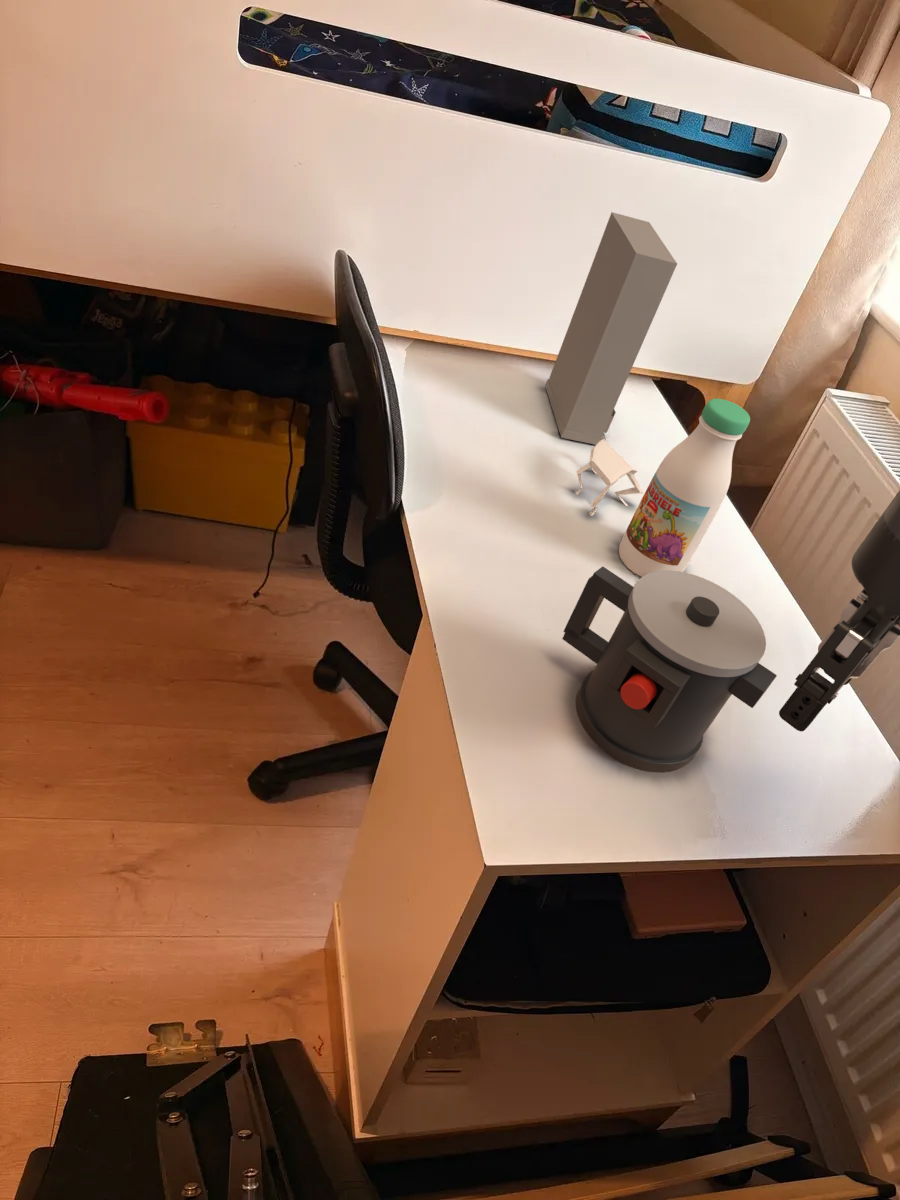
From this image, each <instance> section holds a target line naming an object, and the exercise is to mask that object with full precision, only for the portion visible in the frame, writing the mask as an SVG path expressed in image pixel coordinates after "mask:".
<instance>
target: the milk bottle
mask: <svg viewBox="0 0 900 1200" xmlns="http://www.w3.org/2000/svg"><path fill="white" fill-rule="evenodd" d="M698 422H699V423H698V424H697V426H696V427H695V429H694V430H693V431H692V432H691V433H690V434H688V436H686V438H684V440H682V441H681V442H679V443H678V444H676V446H674V447H673V448H672V449H671V450H670V451H669V452H668V453H667V454H666V455H665V456H664V458H663V459H662V460H661V463H660V464H659V465H658V467H657V469H656V471H655V472H654V474H653V476H652V478H651V480H650V482H649V484H648V486H647V488H646V490H645V492H644V493H643V496H642V498H641V499H640V502H639V504H638V506H637V508H636V509H635V512H634V514H633V516H632V518H631V520H630V521H629V524H628V526H627V527H626V530H625V532H624V534H623V536H622V538H621V540H620V543H619V545H618V554H619V558H620V560H621V562H622V563H623V564H624V565H625V566H626V567H627V569H629V570H630V571H631V572H633V573H634V574H636V575H638V576H639V577H640V578H641V577H643V576H644V575H646V574H649V573H651V572H655V571H663V570H671V571H680V572H685V571H686V568H687V567H688V565H689V563H690V562H691V560H692V558H693V556H694V555H695V553H696V551H697V550H698V547H699V546H700V544H701V542H702V541H703V539H704V537H705V535H706V533H707V532H708V529H710V526H711V525H712V524H713V523H712V522H713V521H714V519H715V517H716V515H717V513H718V512H719V510H720V508H721V506H722V504H723V502H724V500H725V499H726V496H727V493H728V490H729V488H730V485H731V479H732V468H733V455H734V450H735V448H736V447H735V446H736V444H737V441H738V440H740V439H742V438H743V435H744V433H745V432H746V430H747V429H748V427H749V425H750V422H751V416H750V415H749V413H748V411H746V409H744V408H743V407H742V406H740V405H739V404H737V403H735V402H732V401H730V400H727V399H723V398H711V399H709V400H708V401H707V402H706V404H705V406H704V408H703V409H702V412H701V415H700V416H699V417H698Z"/></svg>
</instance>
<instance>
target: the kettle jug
mask: <svg viewBox="0 0 900 1200" xmlns="http://www.w3.org/2000/svg"><path fill="white" fill-rule="evenodd" d="M604 599H605V600H607V601H608V602H610V603H611V604H612V605H614V606H615V607H616V608H618V609H619V610H621V611H623V614H622V616H621V618H620V619H619V622H618V623H617V625H616V628H615V629H614V631H613V633H612V634H611V637H610V639H609V641H607V640H606V639H605V638H603V637H602V636H600V635H599V634H597V633H596V632H595V631H593V630H592V629H591V628H590V627H591V625H592V623H593V621H594V619H595V617H596V615H597V613H598V612H599V609H600V607H601V605H602V603H603V601H604ZM563 633H564V634H563V636H562V638H561V640H563V642H566V643H567V644H569V646H571V647H572V648H574V649H575V650H576V651H578V652H579V653H581V654H582V655H583V656H585V657H586V658H588V659H589V660H590V661H592V662H593V663H595V664H596V665H595V667H594V669H593V670H591V671H590V672H588V673H587V675H586V676H584V679H583V680H582V682H581V683H580V685H579V688H578V690H577V693H576V697H575V709H576V714H577V717H578V720H579V722H580V724H581V726H582V728H583V729H584V731H585V732H586V734H587V735H588V737H589V738H590V739H591V741H593V742H594V743H595V744H596V745H597V746H598V747H599V748H600V749H601V750H603V752H605V753H606V754H608V755H609V756H610V757H612V758H613V759H615V760H617V761H618V762H621V763H623V764H625V765H627V766H629V767H631V768H634V769H638V770H642V771H645V772H650V773H651V772H653V773H669V772H674V771H678V770H680V769H682V768H684V767H685V766H687V765H689V764H690V763H691V762H692V761H693V759H694V758H695V756H697V754H698V752H699V751H700V749H701V747H702V745H703V742H704V735H705V734H706V732H707V731H708V729H709V728H710V726H711V725H712V724H713V722H714V721H715V720H716V718H717V716H718V715H719V714H720V712H721V710H722V709H723V708H724V706H725V705H726V704H727V702H728V700H729V699H730V698H731V696H734V697H735V698H737V699H738V700H740V701H741V702H743V704H745V705H747V706H748V707H750V708H751V709H753V708H754V707H755V706H756V705H757V704H758V702H759V701H760V699H761V698H762V697H763V696H764V695H765V693H766V692H767V690H768V689H769V687H770V686H771V684H772V683H773V682H774V681H775V680H776V678H777V674H776V673H774V672H773V671H772V670H770V669H768V667H766V666H764V665H762V664H761V663H759V662H760V661H761V660H762V658H763V656H764V655H765V653H766V648H767V641H766V640H767V639H766V634H765V632H764V629H763V627H762V624H761V623H760V621H759V620H758V618H757V616H756V615H755V614H754V613H753V612H752V610H750V608H749V607H748V606H747V605H746V604H745V603H744V602H743V601H742V600H741V599H739V597H737V596H736V595H735V594H733V593H731V592H730V591H729V590H727V589H726V588H724V587H722V586H721V585H719V584H716V583H715V582H713V581H711V580H709V579H706V578H704V577H701V576H699V575H695V574H693V573H688V572H685V571H684V572H680V571H671V570H663V571H655V572H651V573H649V574H646V575H644V576H643V577H641V576H640V578H639V579H638V580H637V581H636V582H635V584H634V586H633V585H632V584H630V583H628V582H627V581H626V580H624V579H623V578H621V577H620V576H618V575H617V574H615V573H614V572H613V571H611V570H609V569H608V568H607V567H605V566H601V567H600V568H598V569H597V570H596V571H594V572H593V574H592V575H591V576H590V577H589V578H588V580H587V581H586V583H585V585H584V587H583V590H582V592H581V594H580V595H579V597H578V600H577V601H576V604H575V606H574V608H573V610H572V612H571V614H570V617H569V619H568V621H567V623H566V625H565V627H564V629H563ZM635 674H644V675H647V676H648V677H649V678H651V679H652V680H653V681H654V683H655V685H656V688H657V693H656V696H655V698H654V699H653V700H652V701H651V702H650V703H649V704H648V705H647V706H646V707H645V708H643V709H633V708H631V707H629V706H628V705H627V704H626V703H625V702H624V701H623V699H622V697H621V687H622V686H623V685H624V684H625V683H626V682H627V681H628V680H629V679H630V678H631V677H632V676H633V675H635Z"/></svg>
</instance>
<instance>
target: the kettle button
mask: <svg viewBox="0 0 900 1200" xmlns="http://www.w3.org/2000/svg"><path fill="white" fill-rule="evenodd" d="M656 693H657V688H656V685H655V683H654V681H653V680H652V679H651V678H649V677H648V676H647V675H644V674H635V675H633V676H632V677H631V678H630V679H629V680H628V681H627V682H626V683H625V684H624V685H623V686H622V687H621V697H622V699H623V701H624V702H625V703H626V704H627V705H628V706H629V707H631V708H633V709H643V708H645V707H646V706H647V705H648V704H649V703H650V702H651V701H652V700H653V699H654V698H655V696H656Z"/></svg>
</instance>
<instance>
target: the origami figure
mask: <svg viewBox="0 0 900 1200" xmlns="http://www.w3.org/2000/svg"><path fill="white" fill-rule="evenodd" d="M588 469H591V470H592V471H593V473H594V474H596V475H597V476H599V478H600V479H601V480H602V482H603V483H604V485H606V486H605V487H604V488H603V489H602V491H601V492H600V494H599V495H598V496H596V498H595V499H594V500H592V502H590V506H591V507H592V510H590V511H589V513H588V515H589V516H590V517H591V516H592V517H593V516H594V515H595V513H596V512H597V511H598V506H597V505H598V504H599V503H600V502H601V501H602V500H603V498H604V497H605V496H606V494H607V493H608V491H609V490H610V488H611V487H612V486H613V485H614V484H616V482H618V481H619V480H620V479H621V478H623V477H625V476H627V478H628V479H629V481H630V482H631V485H633V487H630V488H626V489H622V490H618V491H614V494H615V496H616V497H618V499H619V500H620V501H621V503H623V505H624V506H625V507H629V505H628V504H627V502H626V501H625V500H624V499H623V497H622V496H625V495H636V494H644V490H643V488H642V487H641V485H640V483H639V481H638V479H637V477H636V476H635V474H636V473H637V472H638V470H637V469H636V468H634V466H631V464H630V463H628V462H627V461H626V459H625V458H623V457H622V455H621V454H619V452H617V451H616V450H615V449H614V448H613V447H612V446H611V445H610V444H609V443H608V442H607V441H606V440H605V439H602V440H600V441H599V442H598V443H597V444H596V445H594V446H593V447H592V449H591V450H590V455H589V461H588V463H587V464H586V465H584V466H582V467H581V468H579V469H578V470H576V474H577V480H578V484H579V488H578V489H577V490H576V491H575V495H576V496H578V495H579V493H581V492H582V490H583V489H584V488H583V482H582V473H583V472H585V471H586V470H588Z"/></svg>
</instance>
